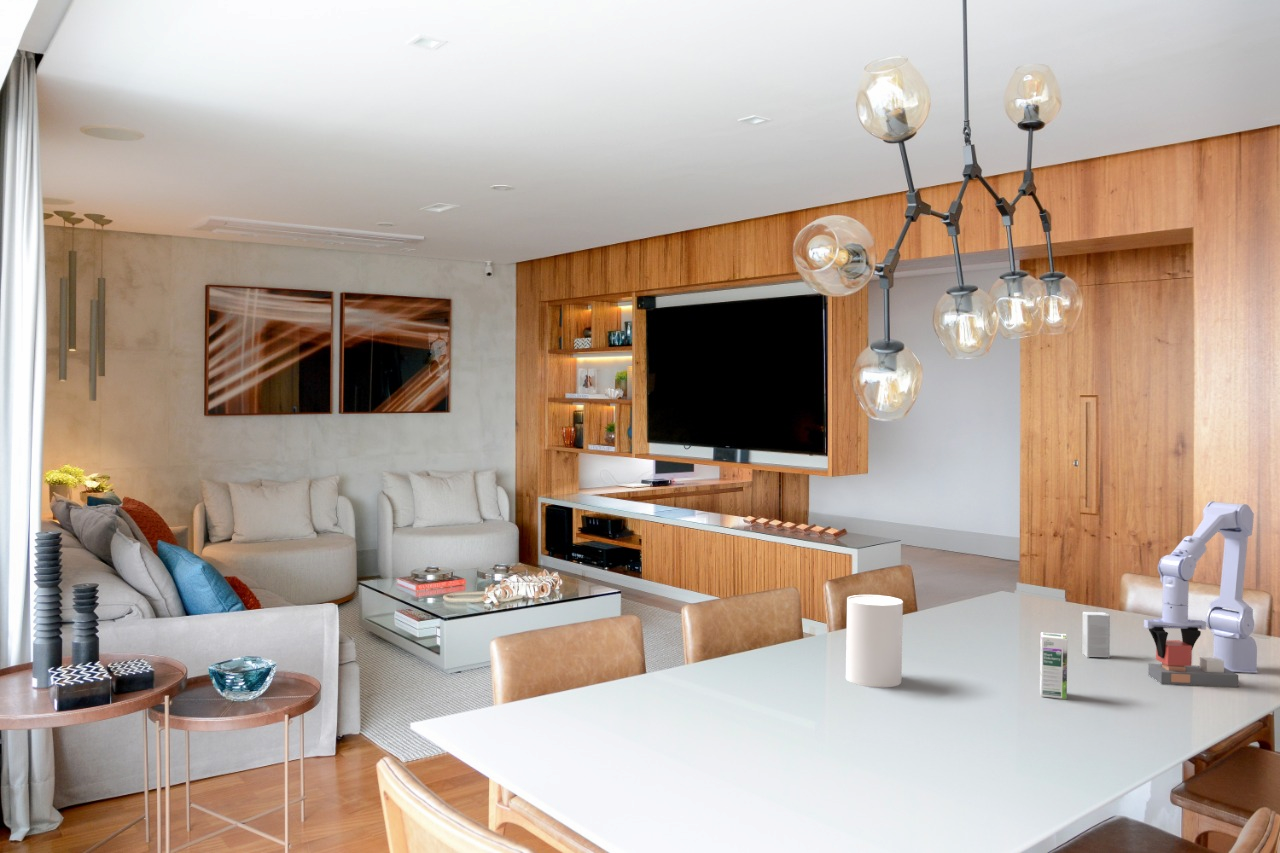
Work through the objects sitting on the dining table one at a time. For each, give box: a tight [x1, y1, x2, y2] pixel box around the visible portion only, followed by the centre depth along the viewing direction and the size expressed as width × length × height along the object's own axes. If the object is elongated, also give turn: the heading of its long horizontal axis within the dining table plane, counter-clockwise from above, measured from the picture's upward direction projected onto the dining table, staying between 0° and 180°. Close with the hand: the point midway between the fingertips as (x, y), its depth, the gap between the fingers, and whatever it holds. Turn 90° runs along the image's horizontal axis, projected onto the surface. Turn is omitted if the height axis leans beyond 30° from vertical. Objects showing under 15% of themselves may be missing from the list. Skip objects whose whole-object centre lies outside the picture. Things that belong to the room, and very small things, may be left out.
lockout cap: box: [1155, 639, 1193, 666], centre depth 246 cm, size 6×6×5 cm
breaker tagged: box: [1161, 662, 1186, 671], centre depth 246 cm, size 4×4×4 cm
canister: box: [845, 594, 904, 688], centre depth 244 cm, size 14×14×20 cm
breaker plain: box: [1199, 656, 1224, 673], centre depth 245 cm, size 4×4×4 cm
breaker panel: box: [1147, 663, 1239, 688], centre depth 245 cm, size 18×8×3 cm, turn 83°
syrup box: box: [1039, 631, 1069, 700], centre depth 232 cm, size 6×6×14 cm
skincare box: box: [1081, 611, 1111, 659], centre depth 269 cm, size 6×4×12 cm
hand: (1174, 657), depth 246 cm, fingers closed on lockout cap, 5 cm apart
